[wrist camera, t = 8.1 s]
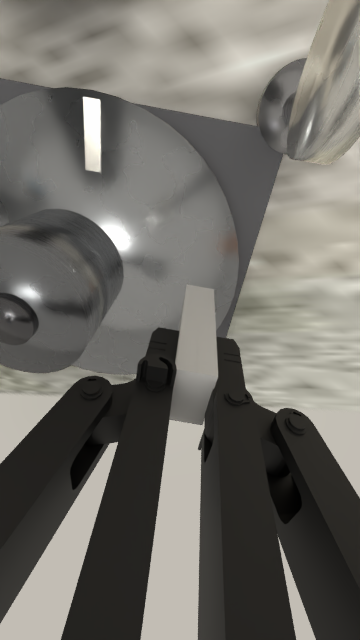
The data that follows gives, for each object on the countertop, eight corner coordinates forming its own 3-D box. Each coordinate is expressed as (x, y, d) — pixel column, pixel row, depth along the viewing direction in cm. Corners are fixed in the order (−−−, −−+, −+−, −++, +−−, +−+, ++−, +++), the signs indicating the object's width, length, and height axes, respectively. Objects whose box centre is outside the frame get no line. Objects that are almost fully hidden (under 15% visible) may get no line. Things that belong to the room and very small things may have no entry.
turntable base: (5, 325, 25) (-10, 338, 24) (-58, 68, 15) (-92, 58, 14) (216, 363, 25) (216, 379, 24) (287, 132, 16) (297, 131, 14)
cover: (23, 302, 19) (-52, 366, 14) (5, 197, 15) (-110, 227, 10) (121, 321, 19) (85, 392, 14) (126, 221, 16) (80, 264, 10)
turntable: (0, 341, 24) (-51, 389, 19) (-75, 61, 14) (-220, 19, 9) (205, 378, 24) (204, 435, 19) (278, 127, 14) (312, 119, 9)
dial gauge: (246, 150, 16) (302, 160, 6) (272, 50, 14) (421, -179, 4) (312, 163, 16) (467, 191, 6) (349, 64, 14) (683, -128, 4)
